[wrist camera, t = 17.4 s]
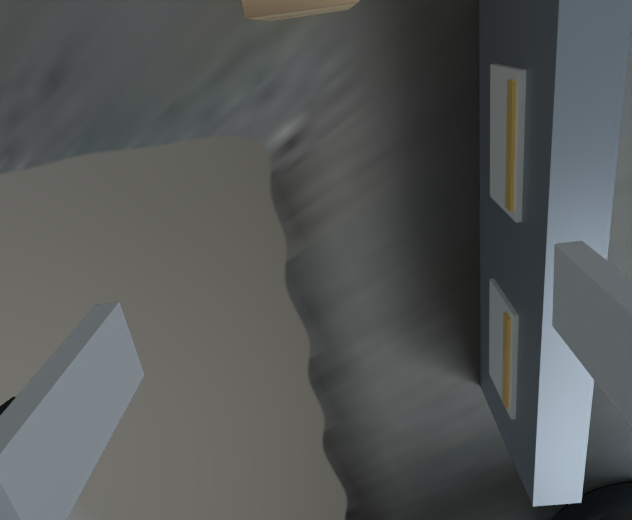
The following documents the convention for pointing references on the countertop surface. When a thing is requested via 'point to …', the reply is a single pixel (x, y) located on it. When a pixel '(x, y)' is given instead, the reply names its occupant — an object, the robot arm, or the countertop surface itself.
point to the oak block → (291, 8)
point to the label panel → (543, 215)
